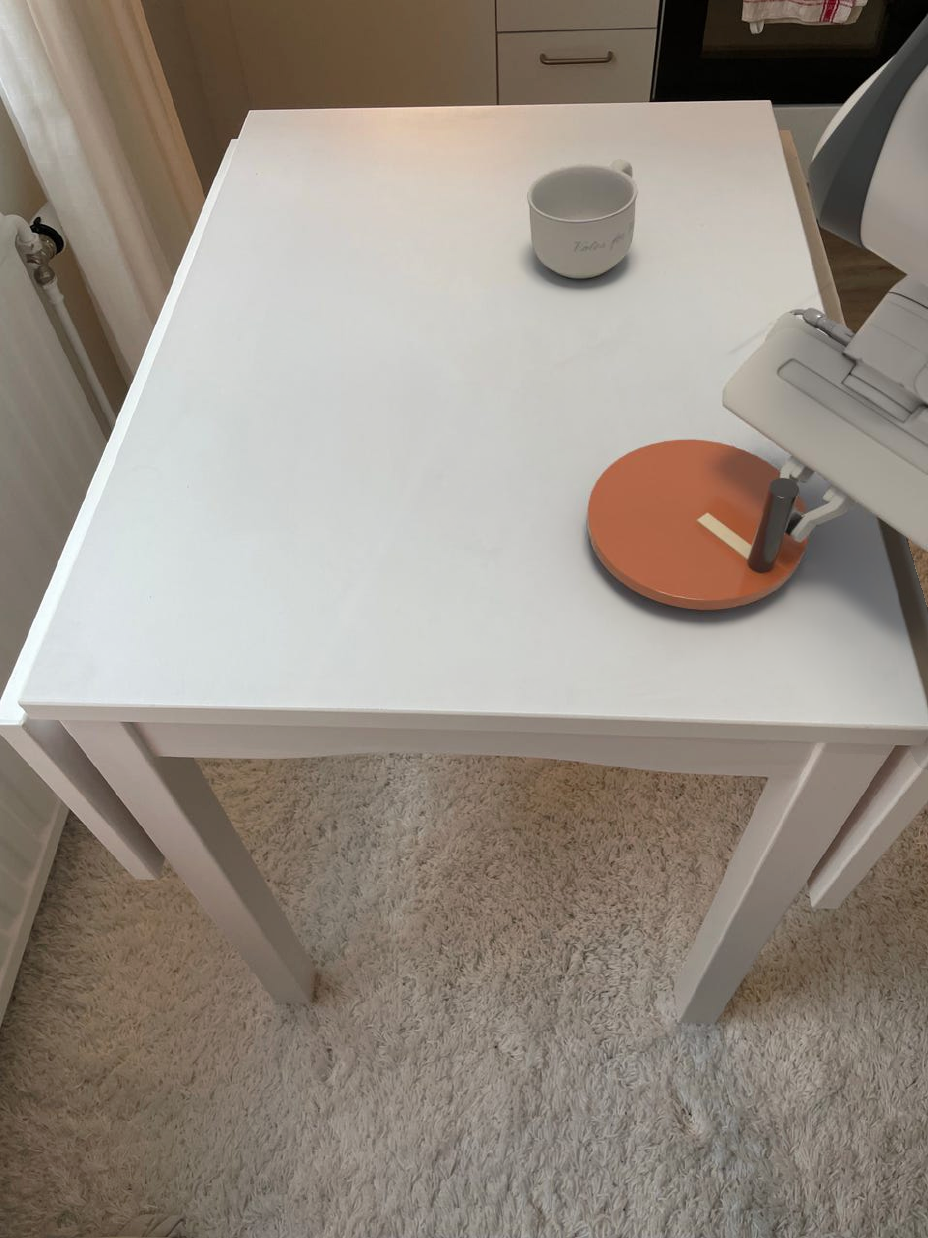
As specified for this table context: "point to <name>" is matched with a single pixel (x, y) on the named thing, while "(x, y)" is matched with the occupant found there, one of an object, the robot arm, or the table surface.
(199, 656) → the table surface
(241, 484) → the table surface
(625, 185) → the teacup
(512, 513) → the table surface
